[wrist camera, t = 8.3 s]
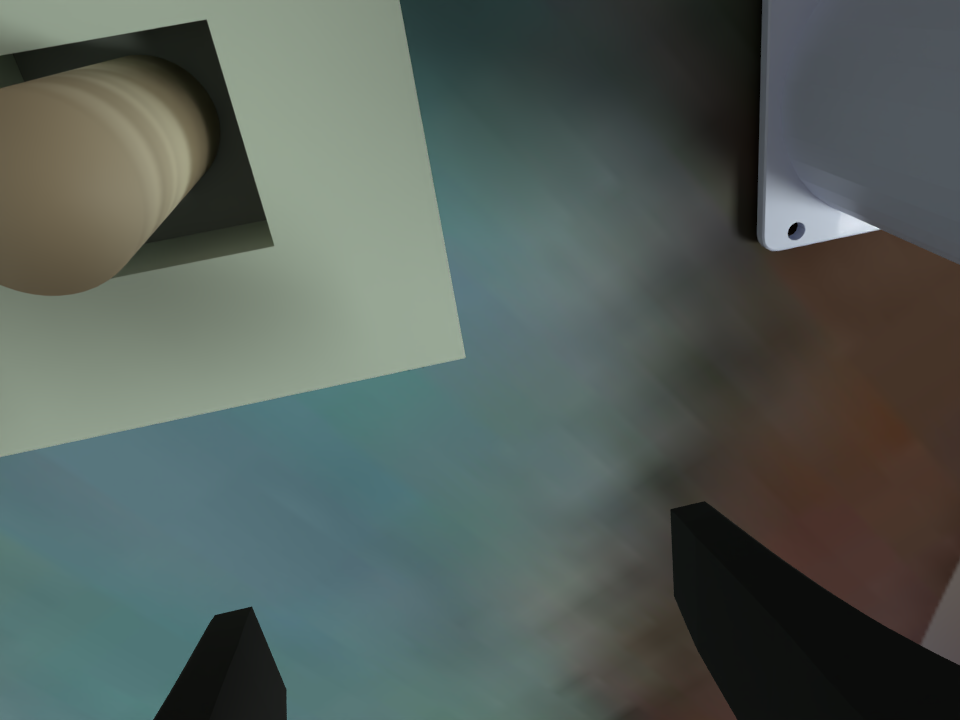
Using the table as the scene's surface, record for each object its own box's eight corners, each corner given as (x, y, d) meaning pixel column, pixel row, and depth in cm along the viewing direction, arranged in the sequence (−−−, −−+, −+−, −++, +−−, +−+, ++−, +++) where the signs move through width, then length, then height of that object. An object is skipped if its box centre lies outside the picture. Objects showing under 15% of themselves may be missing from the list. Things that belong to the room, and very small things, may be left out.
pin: (208, 53, 16) (118, 88, 10) (229, 187, 18) (160, 290, 12) (65, 55, 16) (-117, 92, 10) (98, 192, 17) (-46, 301, 11)
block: (351, -211, 15) (352, -254, 13) (450, 311, 21) (465, 357, 18) (-254, -117, 14) (-389, -142, 12) (18, 400, 20) (-32, 463, 17)
